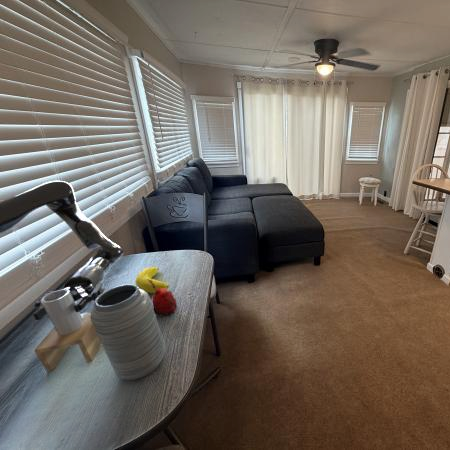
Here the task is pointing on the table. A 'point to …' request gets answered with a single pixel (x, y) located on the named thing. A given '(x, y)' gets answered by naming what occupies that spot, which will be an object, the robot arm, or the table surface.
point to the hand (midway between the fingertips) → (56, 313)
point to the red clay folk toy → (163, 301)
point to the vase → (128, 331)
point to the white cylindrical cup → (62, 311)
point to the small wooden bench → (68, 344)
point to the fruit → (143, 281)
